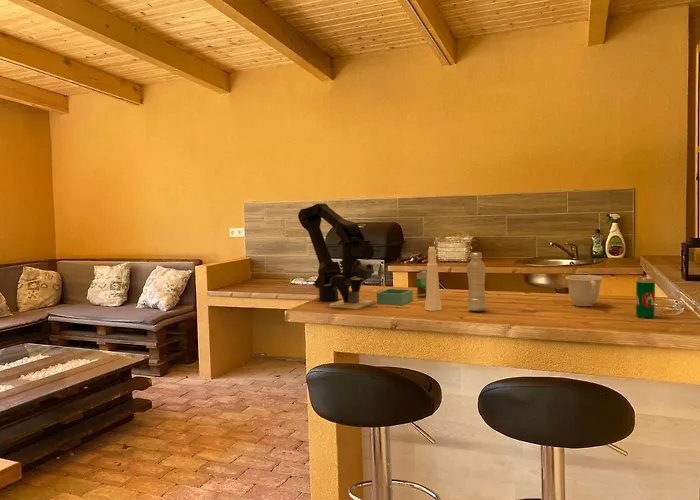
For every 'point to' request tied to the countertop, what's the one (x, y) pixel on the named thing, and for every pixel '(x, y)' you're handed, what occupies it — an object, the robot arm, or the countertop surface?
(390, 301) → the dish
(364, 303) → the lid
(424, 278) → the food container
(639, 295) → the soda can
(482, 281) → the plastic bottle
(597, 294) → the teacup
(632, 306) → the countertop surface
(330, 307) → the mat
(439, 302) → the cosmetic bottle
